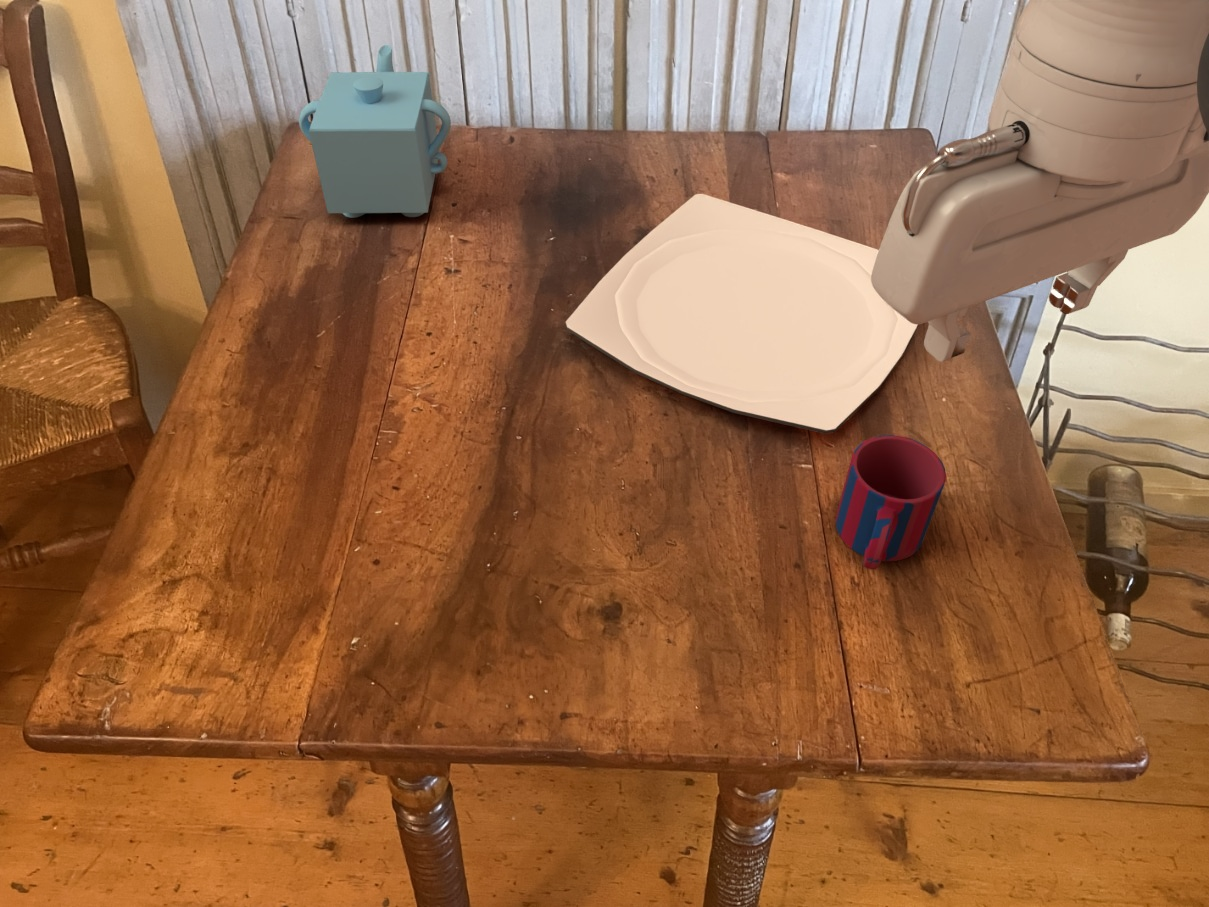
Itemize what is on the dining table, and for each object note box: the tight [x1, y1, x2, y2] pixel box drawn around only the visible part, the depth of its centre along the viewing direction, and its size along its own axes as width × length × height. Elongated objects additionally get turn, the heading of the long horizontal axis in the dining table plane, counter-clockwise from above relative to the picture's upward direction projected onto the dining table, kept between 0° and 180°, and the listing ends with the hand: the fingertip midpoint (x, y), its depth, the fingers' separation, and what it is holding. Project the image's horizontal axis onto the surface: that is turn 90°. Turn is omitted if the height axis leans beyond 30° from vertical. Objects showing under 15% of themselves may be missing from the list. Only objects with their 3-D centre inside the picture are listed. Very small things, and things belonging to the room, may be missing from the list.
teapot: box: [298, 44, 452, 219], centre depth 106 cm, size 18×16×13 cm
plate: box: [564, 193, 919, 435], centre depth 92 cm, size 29×29×3 cm
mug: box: [835, 434, 947, 571], centre depth 72 cm, size 7×10×7 cm
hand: (1005, 328), depth 57 cm, fingers open, 8 cm apart
